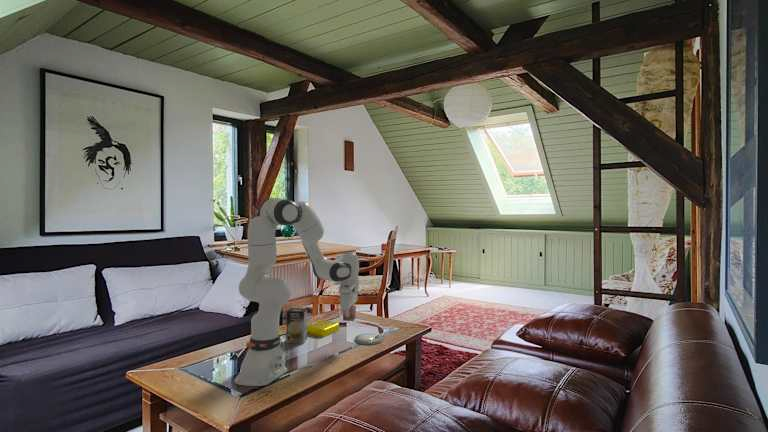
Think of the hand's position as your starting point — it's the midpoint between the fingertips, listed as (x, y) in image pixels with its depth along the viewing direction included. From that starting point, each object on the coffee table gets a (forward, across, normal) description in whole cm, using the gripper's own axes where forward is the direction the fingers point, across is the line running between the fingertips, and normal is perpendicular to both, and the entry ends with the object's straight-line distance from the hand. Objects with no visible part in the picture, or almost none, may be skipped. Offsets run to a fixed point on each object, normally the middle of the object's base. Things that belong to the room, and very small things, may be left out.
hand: (349, 314), depth 201 cm
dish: (+16, -12, +7) cm, 21 cm away
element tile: (+16, -22, -21) cm, 35 cm away
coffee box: (+16, -4, -28) cm, 32 cm away
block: (+2, 0, 0) cm, 2 cm away
